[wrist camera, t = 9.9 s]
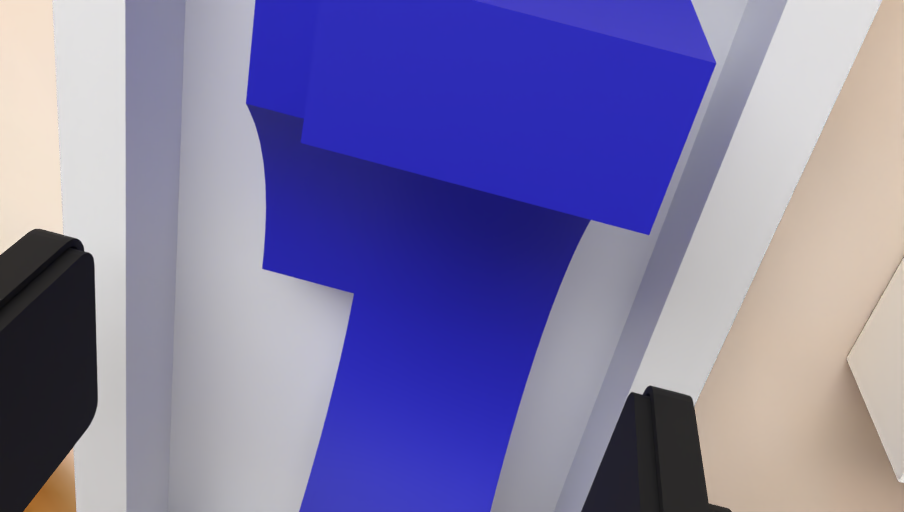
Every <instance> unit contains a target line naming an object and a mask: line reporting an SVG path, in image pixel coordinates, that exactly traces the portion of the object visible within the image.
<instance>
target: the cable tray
mask: <svg viewBox="0 0 904 512" xmlns="http://www.w3.org/2000/svg"><path fill="white" fill-rule="evenodd" d="M691 2H692V4H693V6H694V9H695V11H696V14H697V16H698V19H699V21H700V24H701V26H702V29H703V31H704V34H705V36H706V39H707V41H708V44H709V46H710V49H711V51H712V54H713V56H714V59H715V61H716V66H715V68H714V71H713V73H712V76H711V79H710V81H709V84H708V86H707V89H706V91H705V94H704V96H703V99H702V102H701V104H700V107H699V109H698V112H697V114H696V117H695V119H694V122H693V125H692V127H691V130H690V132H689V135H688V137H687V140H686V142H685V145H684V148H683V150H682V153H681V155H680V158H679V160H678V163H677V165H676V168H675V170H674V173H673V176H672V178H671V181H670V183H669V186H668V188H667V191H666V193H665V196H664V199H663V201H662V204H661V206H660V209H659V211H658V214H657V216H656V219H655V222H654V224H653V227H652V229H651V232H650V234H649V235H646V234H642V233H638V232H635V231H631V230H627V229H623V228H620V227H616V226H612V225H608V224H604V223H601V222H597V221H593V220H591V221H590V223H589V224H588V226H587V228H586V230H585V232H584V234H583V236H582V238H581V240H580V242H579V244H578V246H577V248H576V250H575V252H574V255H573V257H572V259H571V261H570V263H569V266H568V268H567V271H566V273H565V275H564V278H563V280H562V283H561V285H560V288H559V290H558V293H557V295H556V298H555V301H554V303H553V306H552V309H551V311H550V314H549V317H548V320H547V322H546V325H545V328H544V331H543V334H542V337H541V340H540V343H539V346H538V348H537V351H536V354H535V357H534V361H533V364H532V367H531V370H530V373H529V376H528V379H527V382H526V386H525V389H524V392H523V395H522V399H521V402H520V405H519V409H518V412H517V415H516V419H515V422H514V426H513V429H512V433H511V436H510V440H509V443H508V447H507V450H506V454H505V458H504V461H503V465H502V469H501V472H500V476H499V480H498V484H497V487H496V491H495V495H494V499H493V503H492V507H491V511H490V512H581V510H582V508H583V505H584V503H585V501H586V498H587V496H588V493H589V491H590V488H591V486H592V483H593V481H594V478H595V476H596V473H597V471H598V468H599V466H600V463H601V461H602V459H603V456H604V454H605V451H606V449H607V446H608V444H609V441H610V439H611V436H612V434H613V431H614V429H615V426H616V424H617V422H618V419H619V417H620V414H621V412H622V409H623V407H624V404H625V402H626V399H627V397H628V395H629V394H630V393H631V392H634V393H638V394H642V395H643V393H644V391H645V389H646V388H647V387H648V386H650V385H651V386H655V387H658V388H662V389H666V390H670V391H674V392H678V393H682V394H686V395H690V396H691V397H692V399H693V403H694V406H695V404H696V402H697V400H698V397H699V395H700V393H701V391H702V389H703V387H704V384H705V382H706V380H707V378H708V376H709V374H710V371H711V369H712V367H713V365H714V363H715V361H716V358H717V356H718V354H719V352H720V350H721V348H722V346H723V343H724V341H725V339H726V337H727V335H728V333H729V330H730V328H731V326H732V324H733V322H734V320H735V317H736V315H737V313H738V311H739V309H740V307H741V304H742V302H743V300H744V298H745V296H746V294H747V292H748V289H749V287H750V285H751V283H752V281H753V279H754V276H755V274H756V272H757V270H758V268H759V266H760V263H761V261H762V259H763V257H764V255H765V253H766V250H767V248H768V246H769V244H770V242H771V240H772V237H773V235H774V233H775V231H776V229H777V227H778V225H779V222H780V220H781V218H782V216H783V214H784V212H785V209H786V207H787V205H788V203H789V201H790V199H791V196H792V194H793V192H794V190H795V188H796V186H797V183H798V181H799V179H800V177H801V175H802V173H803V171H804V168H805V166H806V164H807V162H808V160H809V158H810V155H811V153H812V151H813V149H814V147H815V145H816V142H817V140H818V138H819V136H820V134H821V132H822V129H823V127H824V125H825V123H826V121H827V119H828V117H829V114H830V112H831V110H832V108H833V106H834V104H835V101H836V99H837V97H838V95H839V93H840V91H841V88H842V86H843V84H844V82H845V80H846V78H847V75H848V73H849V71H850V69H851V67H852V65H853V63H854V60H855V58H856V56H857V54H858V52H859V50H860V47H861V45H862V43H863V41H864V39H865V37H866V34H867V32H868V30H869V28H870V26H871V24H872V21H873V19H874V17H875V15H876V13H877V11H878V8H879V6H880V4H881V2H882V0H691ZM254 10H255V0H53V21H54V42H55V63H56V84H57V106H58V127H59V148H60V170H61V191H62V212H63V234H64V235H65V236H69V237H73V238H77V239H79V240H80V241H81V242H82V244H83V246H84V251H85V252H89V253H90V254H92V256H93V258H94V265H95V304H96V344H97V383H98V405H97V409H96V413H95V416H94V418H93V420H92V422H91V424H90V426H89V427H88V429H87V430H86V431H85V433H84V434H83V435H82V436H81V438H80V439H79V440H78V442H77V443H76V444H75V445H74V468H75V489H76V511H77V512H299V510H300V507H301V503H302V500H303V497H304V493H305V490H306V486H307V483H308V480H309V476H310V473H311V469H312V466H313V462H314V459H315V455H316V451H317V448H318V444H319V441H320V437H321V433H322V429H323V426H324V422H325V418H326V414H327V411H328V407H329V403H330V399H331V395H332V391H333V387H334V383H335V379H336V374H337V370H338V366H339V362H340V358H341V353H342V349H343V344H344V340H345V335H346V331H347V326H348V321H349V316H350V311H351V306H352V301H353V296H354V293H350V292H346V291H342V290H339V289H335V288H331V287H328V286H324V285H320V284H316V283H313V282H309V281H305V280H302V279H298V278H294V277H290V276H287V275H283V274H279V273H276V272H272V271H268V270H264V269H262V264H263V254H264V241H265V221H266V190H265V175H264V163H263V157H262V151H261V145H260V141H259V137H258V133H257V130H256V126H255V123H254V121H253V118H252V116H251V113H250V111H249V109H248V107H247V105H246V96H247V85H248V75H249V64H250V53H251V42H252V31H253V20H254Z"/></svg>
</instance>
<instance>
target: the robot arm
mask: <svg viewBox="0 0 904 512" xmlns="http://www.w3.org/2000/svg"><path fill="white" fill-rule="evenodd" d="M97 405H98V383H97V344H96V304H95V265H94V258H93V256H92V254H90V253H89V252H85V251H84V246H83V244H82V242H81V241H80V240H79V239H77V238H73V237H69V236H65V235H61V234H57V233H54V232H50V231H46V230H42V229H34V230H32V231H30V232H28V233H27V234H26V235H25V236H23V237H22V238H21V239H20V240H19V241H17V242H16V243H15V244H14V245H12V246H11V247H10V248H9V249H7V250H6V251H5V252H4V253H2V254H1V255H0V512H23V511H24V510H25V508H26V507H27V506H28V504H29V503H30V502H31V501H32V499H33V498H34V497H35V495H36V494H37V493H38V492H39V490H40V489H41V488H42V486H43V485H44V484H45V483H46V481H47V480H48V479H49V477H50V476H51V475H52V474H53V472H54V471H55V470H56V468H57V467H58V466H59V465H60V463H61V462H62V461H63V460H64V458H65V457H66V456H67V454H68V453H69V452H70V451H71V449H72V448H73V447H74V445H75V444H76V443H77V442H78V440H79V439H80V438H81V436H82V435H83V434H84V433H85V431H86V430H87V429H88V427H89V426H90V424H91V422H92V420H93V418H94V416H95V413H96V409H97ZM581 512H731V510H730V509H728V508H724V507H720V506H716V505H712V504H709V503H708V497H707V490H706V483H705V477H704V470H703V463H702V456H701V450H700V443H699V436H698V430H697V423H696V416H695V410H694V403H693V399H692V397H691V396H690V395H686V394H682V393H678V392H674V391H670V390H666V389H662V388H658V387H655V386H651V385H650V386H648V387H647V388H646V389H645V391H644V393H643V395H642V394H638V393H634V392H631V393H630V394H629V395H628V397H627V399H626V402H625V404H624V407H623V409H622V412H621V414H620V417H619V419H618V422H617V424H616V426H615V429H614V431H613V434H612V436H611V439H610V441H609V444H608V446H607V449H606V451H605V454H604V456H603V459H602V461H601V463H600V466H599V468H598V471H597V473H596V476H595V478H594V481H593V483H592V486H591V488H590V491H589V493H588V496H587V498H586V501H585V503H584V505H583V508H582V510H581Z"/></svg>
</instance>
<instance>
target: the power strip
mask: <svg viewBox="0 0 904 512" xmlns="http://www.w3.org/2000/svg"><path fill="white" fill-rule="evenodd" d="M847 361H848V364H849V366H850V368H851V371H852V373H853V376H854V378H855V380H856V383H857V385H858V387H859V390H860V392H861V395H862V397H863V399H864V402H865V404H866V406H867V409H868V411H869V413H870V416H871V418H872V421H873V423H874V425H875V428H876V430H877V432H878V435H879V437H880V440H881V442H882V444H883V447H884V449H885V451H886V454H887V456H888V459H889V461H890V463H891V466H892V468H893V470H894V473H895V475H896V477H897V480H898V482H902V483H904V258H903V259H902V261H901V263H900V265H899V267H898V268H897V270H896V272H895V274H894V275H893V277H892V279H891V281H890V282H889V284H888V286H887V288H886V290H885V291H884V293H883V295H882V297H881V298H880V300H879V302H878V304H877V305H876V307H875V309H874V311H873V313H872V314H871V316H870V318H869V320H868V321H867V323H866V325H865V327H864V328H863V330H862V332H861V334H860V336H859V337H858V339H857V341H856V343H855V344H854V346H853V348H852V350H851V351H850V353H849V355H848V357H847Z"/></svg>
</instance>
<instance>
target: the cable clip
mask: <svg viewBox="0 0 904 512" xmlns="http://www.w3.org/2000/svg"><path fill="white" fill-rule="evenodd" d="M715 66H716V61H715V59H714V56H713V54H712V51H711V49H710V46H709V44H708V41H707V39H706V36H705V34H704V31H703V29H702V26H701V24H700V21H699V19H698V16H697V14H696V11H695V9H694V6H693V4H692V2H691V0H255V10H254V20H253V31H252V42H251V53H250V64H249V75H248V85H247V96H246V105H247V107H248V109H249V111H250V113H251V116H252V118H253V121H254V123H255V126H256V130H257V133H258V137H259V141H260V145H261V151H262V157H263V163H264V175H265V190H266V221H265V241H264V254H263V264H262V269H264V270H268V271H272V272H276V273H279V274H283V275H287V276H290V277H294V278H298V279H302V280H305V281H309V282H313V283H316V284H320V285H324V286H328V287H331V288H335V289H339V290H342V291H346V292H350V293H354V296H353V301H352V306H351V311H350V316H349V321H348V326H347V331H346V335H345V340H344V344H343V349H342V353H341V358H340V362H339V366H338V370H337V374H336V379H335V383H334V387H333V391H332V395H331V399H330V403H329V407H328V411H327V414H326V418H325V422H324V426H323V429H322V433H321V437H320V441H319V444H318V448H317V451H316V455H315V459H314V462H313V466H312V469H311V473H310V476H309V480H308V483H307V486H306V490H305V493H304V497H303V500H302V503H301V507H300V510H299V512H490V511H491V507H492V503H493V499H494V495H495V491H496V487H497V484H498V480H499V476H500V472H501V469H502V465H503V461H504V458H505V454H506V450H507V447H508V443H509V440H510V436H511V433H512V429H513V426H514V422H515V419H516V415H517V412H518V409H519V405H520V402H521V399H522V395H523V392H524V389H525V386H526V382H527V379H528V376H529V373H530V370H531V367H532V364H533V361H534V357H535V354H536V351H537V348H538V346H539V343H540V340H541V337H542V334H543V331H544V328H545V325H546V322H547V320H548V317H549V314H550V311H551V309H552V306H553V303H554V301H555V298H556V295H557V293H558V290H559V288H560V285H561V283H562V280H563V278H564V275H565V273H566V271H567V268H568V266H569V263H570V261H571V259H572V257H573V255H574V252H575V250H576V248H577V246H578V244H579V242H580V240H581V238H582V236H583V234H584V232H585V230H586V228H587V226H588V224H589V223H590V221H591V220H593V221H597V222H601V223H604V224H608V225H612V226H616V227H620V228H623V229H627V230H631V231H635V232H638V233H642V234H646V235H649V234H650V232H651V229H652V227H653V224H654V222H655V219H656V216H657V214H658V211H659V209H660V206H661V204H662V201H663V199H664V196H665V193H666V191H667V188H668V186H669V183H670V181H671V178H672V176H673V173H674V170H675V168H676V165H677V163H678V160H679V158H680V155H681V153H682V150H683V148H684V145H685V142H686V140H687V137H688V135H689V132H690V130H691V127H692V125H693V122H694V119H695V117H696V114H697V112H698V109H699V107H700V104H701V102H702V99H703V96H704V94H705V91H706V89H707V86H708V84H709V81H710V79H711V76H712V73H713V71H714V68H715Z"/></svg>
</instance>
